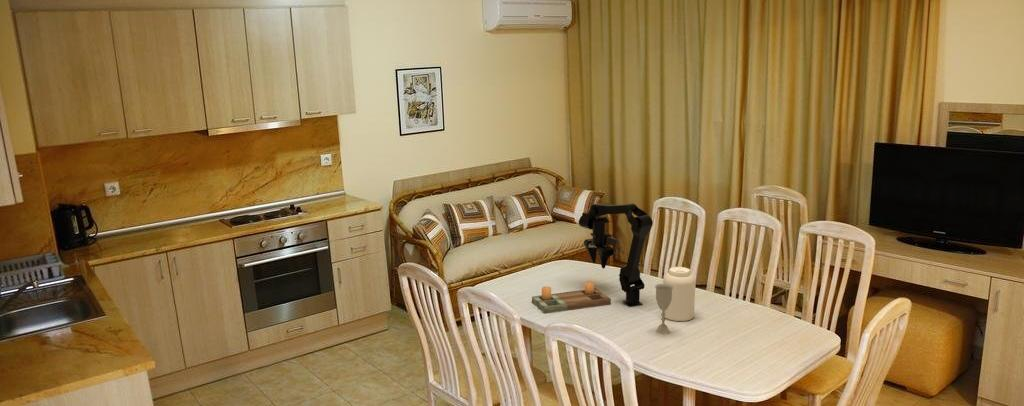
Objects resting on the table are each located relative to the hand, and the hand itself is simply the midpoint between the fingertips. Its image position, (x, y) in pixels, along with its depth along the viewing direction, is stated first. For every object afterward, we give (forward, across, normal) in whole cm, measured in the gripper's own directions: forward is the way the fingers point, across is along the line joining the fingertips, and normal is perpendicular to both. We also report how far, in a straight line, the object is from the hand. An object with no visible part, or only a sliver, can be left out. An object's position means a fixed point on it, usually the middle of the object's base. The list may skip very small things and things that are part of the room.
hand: (598, 265), depth 332 cm
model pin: (+12, -6, +28) cm, 31 cm away
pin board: (+12, -9, +18) cm, 23 cm away
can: (+12, -40, -16) cm, 45 cm away
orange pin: (+12, -6, +8) cm, 16 cm away
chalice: (+12, -52, -1) cm, 53 cm away
